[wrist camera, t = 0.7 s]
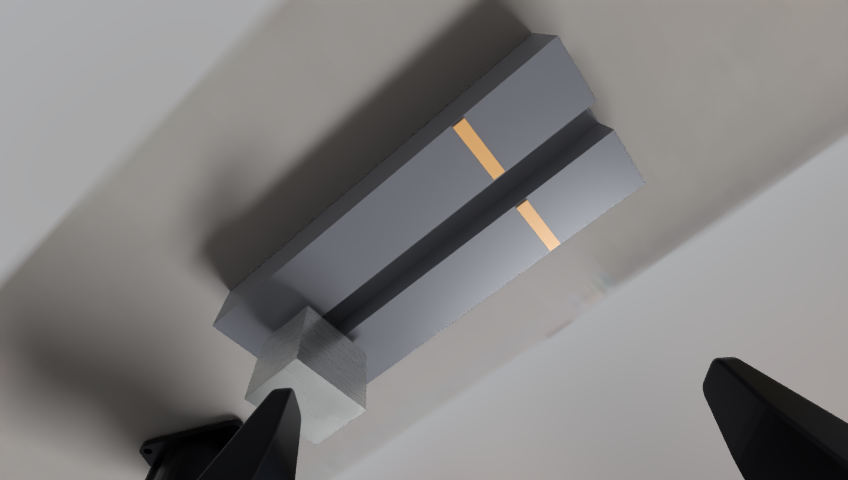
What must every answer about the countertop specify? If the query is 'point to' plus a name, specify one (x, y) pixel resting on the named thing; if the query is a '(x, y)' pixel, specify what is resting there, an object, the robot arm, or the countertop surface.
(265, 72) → the countertop surface
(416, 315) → the fader console
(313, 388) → the fader tab
